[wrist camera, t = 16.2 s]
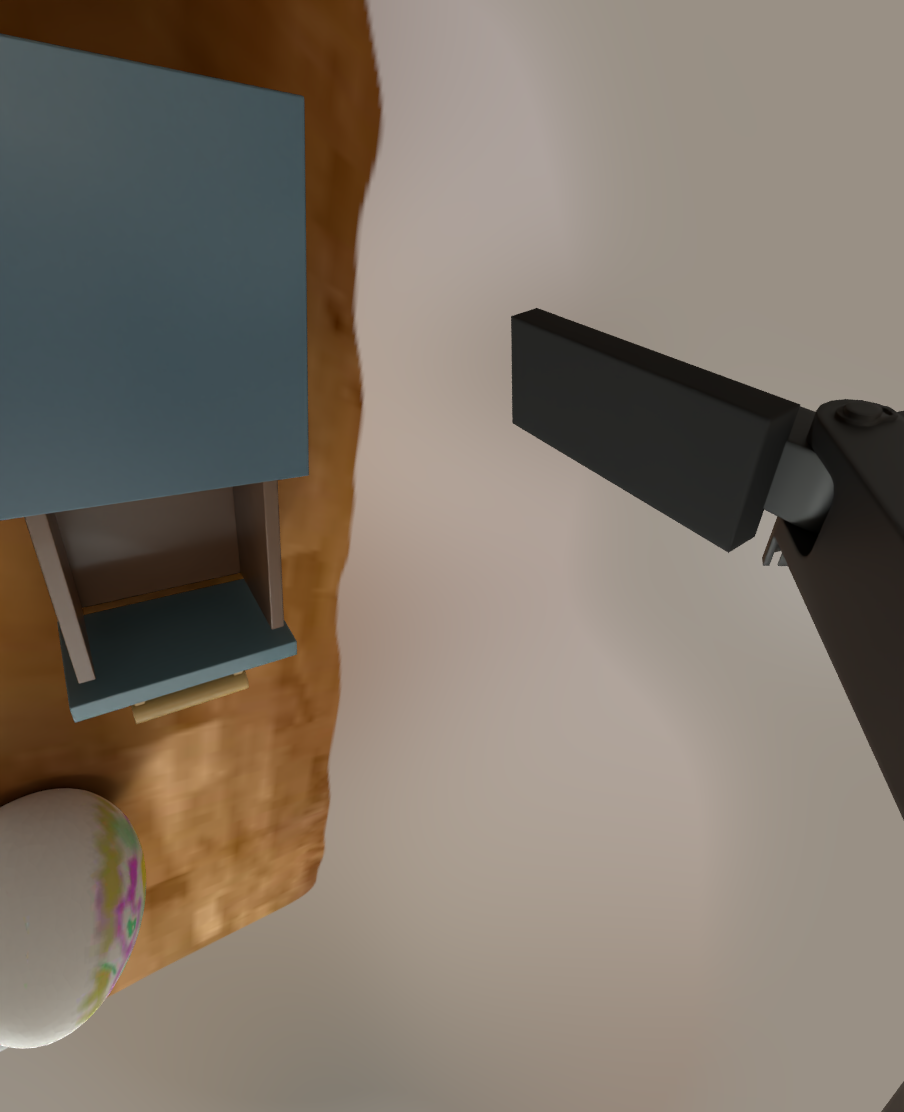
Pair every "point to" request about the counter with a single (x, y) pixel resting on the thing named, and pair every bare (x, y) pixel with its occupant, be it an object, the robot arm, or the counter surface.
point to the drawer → (168, 622)
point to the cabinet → (146, 281)
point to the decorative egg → (64, 910)
